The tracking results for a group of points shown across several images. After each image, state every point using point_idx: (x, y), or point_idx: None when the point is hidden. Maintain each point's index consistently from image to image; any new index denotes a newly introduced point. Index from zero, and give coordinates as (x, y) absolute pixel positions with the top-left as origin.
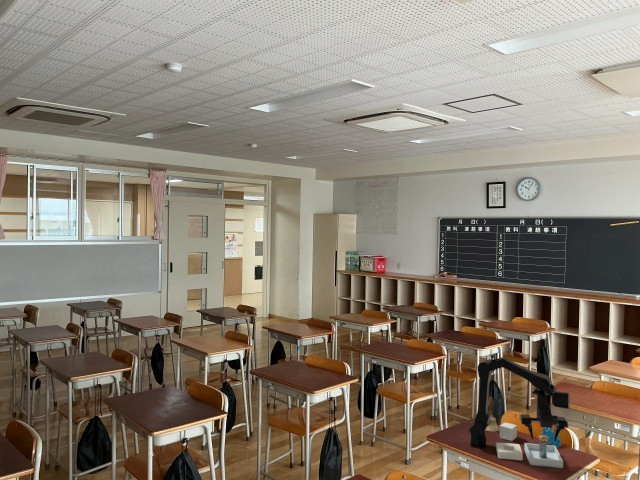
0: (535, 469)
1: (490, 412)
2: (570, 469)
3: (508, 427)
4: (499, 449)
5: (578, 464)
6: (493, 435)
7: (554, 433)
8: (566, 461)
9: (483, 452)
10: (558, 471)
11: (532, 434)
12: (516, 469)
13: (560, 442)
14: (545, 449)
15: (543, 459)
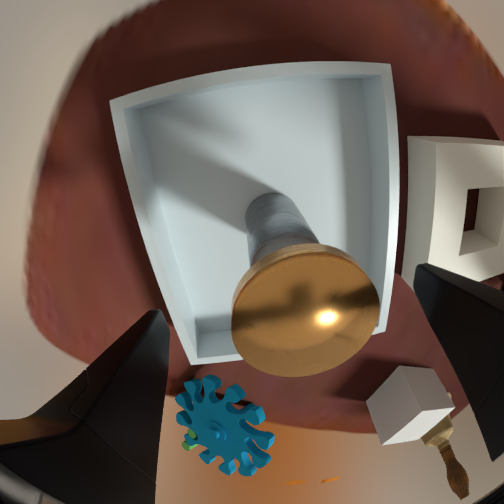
0: (329, 12)
1: (452, 452)
2: (87, 110)
3: (430, 413)
4: None
5: (56, 217)
6: (444, 373)
7: (150, 405)
8: (117, 232)
9: None
10: (166, 33)
11: (463, 290)
12: (430, 6)
13: (178, 413)
14: (262, 226)
15: (282, 63)
